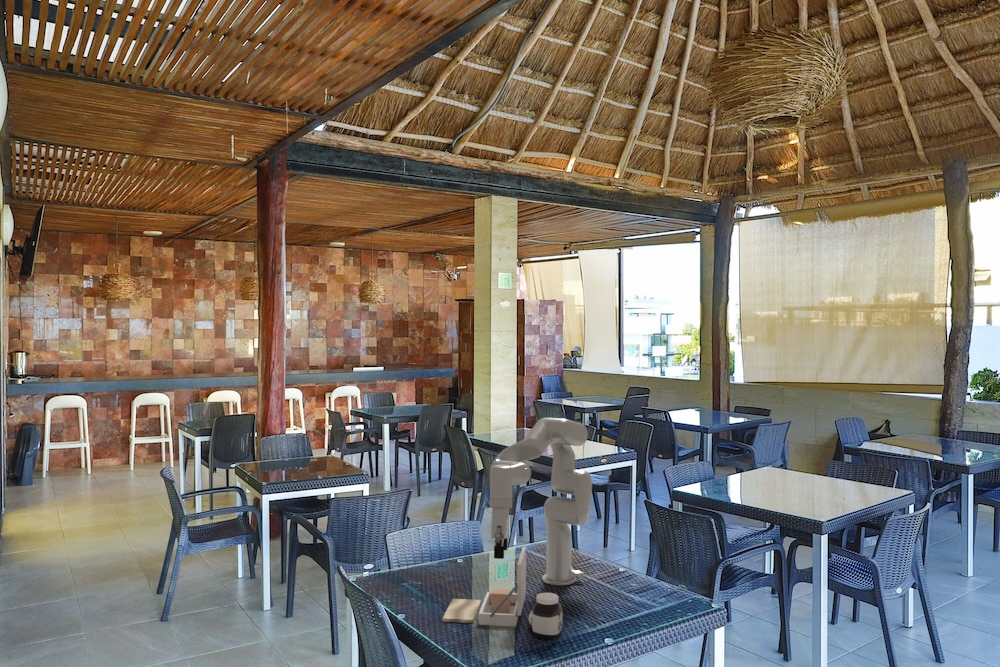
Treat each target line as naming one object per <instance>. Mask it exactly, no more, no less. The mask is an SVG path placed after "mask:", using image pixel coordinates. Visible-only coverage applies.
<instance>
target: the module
mask: <svg viewBox="0 0 1000 667" xmlns="http://www.w3.org/2000/svg"><path fill="white" fill-rule="evenodd" d="M511 590H512V589H511V588H494V587H493V588H492V590H491V592H492V593H491V613H493V611H494V610H495V609H496V608H497V607H498V606H499V604H500V603H501V602H502V601H503V600H504V599H505V597H506V596H507V595H508V594H509V593H510V591H511ZM510 611H511V595H510V597H509V598H508V599H507V600H506V601H505V602H504V604H503V605H502V606H501V607H500V608H499V610H498V611H497V612H496V613H502V614H510Z"/></svg>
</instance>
